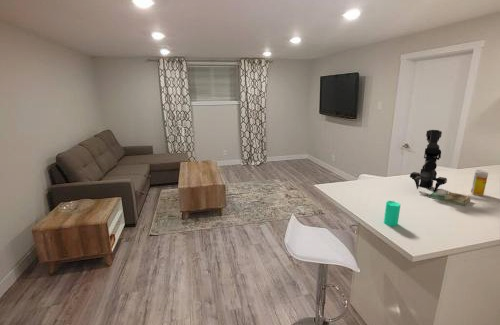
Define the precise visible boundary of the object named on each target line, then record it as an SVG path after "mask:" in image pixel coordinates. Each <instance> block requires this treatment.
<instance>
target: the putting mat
mask: <svg viewBox="0 0 500 325" xmlns="http://www.w3.org/2000/svg"><path fill="white" fill-rule="evenodd" d="M448 194H449V193H446V194H445V195H448ZM445 195H444V196H439V195H438V194H437V191H436V192H435V193H434V191H432V192H431V193H430V194H429V195H428V196H427V198H429V199H433V200H438V201H442V202H446V203H449V204H454V205H459V206H463V207H465V206H466V205H467V204H468V202H469V201H470V200H471V198H469V201H468V202H467V203H466V204H462V203H458V202H454V201H450V200H446V199H445Z"/></svg>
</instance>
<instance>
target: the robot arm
mask: <svg viewBox="0 0 500 325" xmlns="http://www.w3.org/2000/svg"><path fill="white" fill-rule="evenodd" d="M442 135H443V131H441V130H439V129H428V130H426V134H425V138H426V141H427V143H428V144H427V145H426V147H425V150H424V155H423V159H424V164H423V165H422V168H421V169H420V172H416V171H414V172H411V173H410V174H409V178H411V180H413V181H414V184H415V188H416V189H417V190H418V189H419V188H420V187H421V188H424V189H431V188H433V185H434V182H436V183H435V186H434V189H433V192H434V193H435V192H437V190H438V189H439V187H440V186H442V185H445V184H447V183H448V179H447V177H444V176H443V177H441V176H439V177H437V167H438V166H437V161H439V160H440V159H441V157H442V151H441V149H440V145H439V144H438V142H439V141H440V139H441V138H442Z"/></svg>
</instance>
